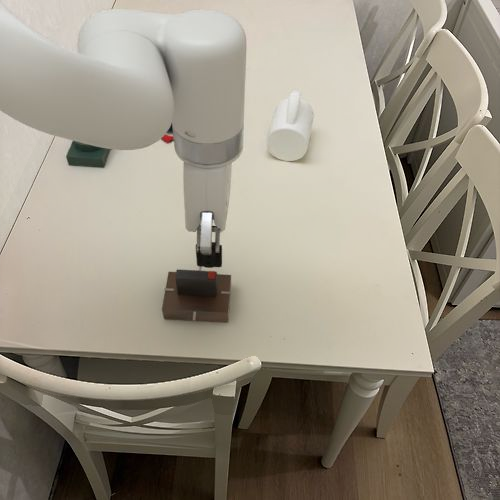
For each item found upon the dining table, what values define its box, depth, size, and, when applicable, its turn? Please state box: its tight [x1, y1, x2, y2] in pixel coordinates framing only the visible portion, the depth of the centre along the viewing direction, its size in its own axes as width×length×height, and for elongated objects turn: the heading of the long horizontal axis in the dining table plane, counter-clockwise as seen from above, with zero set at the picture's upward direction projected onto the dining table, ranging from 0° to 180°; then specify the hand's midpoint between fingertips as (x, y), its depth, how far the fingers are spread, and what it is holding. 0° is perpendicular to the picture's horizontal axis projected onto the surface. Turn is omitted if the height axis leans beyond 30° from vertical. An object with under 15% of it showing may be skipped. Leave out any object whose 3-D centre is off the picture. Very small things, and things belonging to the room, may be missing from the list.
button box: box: [65, 140, 111, 169], centre depth 97 cm, size 10×7×4 cm
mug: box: [266, 89, 315, 162], centre depth 97 cm, size 8×10×12 cm
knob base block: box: [161, 266, 232, 323], centre depth 76 cm, size 10×10×3 cm
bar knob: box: [175, 269, 218, 297], centre depth 73 cm, size 6×2×5 cm, turn 88°
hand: (212, 236), depth 65 cm, fingers open, 9 cm apart
